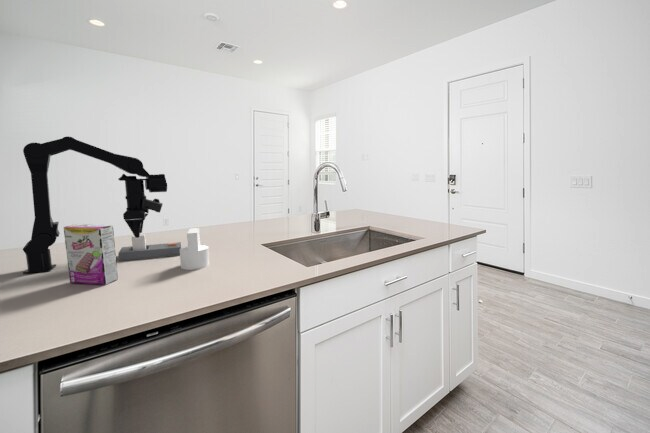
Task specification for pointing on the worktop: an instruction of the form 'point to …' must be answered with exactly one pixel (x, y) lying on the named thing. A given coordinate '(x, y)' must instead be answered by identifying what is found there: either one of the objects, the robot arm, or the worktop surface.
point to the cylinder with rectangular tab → (194, 252)
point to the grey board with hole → (150, 251)
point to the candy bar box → (91, 254)
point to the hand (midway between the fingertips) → (138, 235)
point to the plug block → (139, 242)
